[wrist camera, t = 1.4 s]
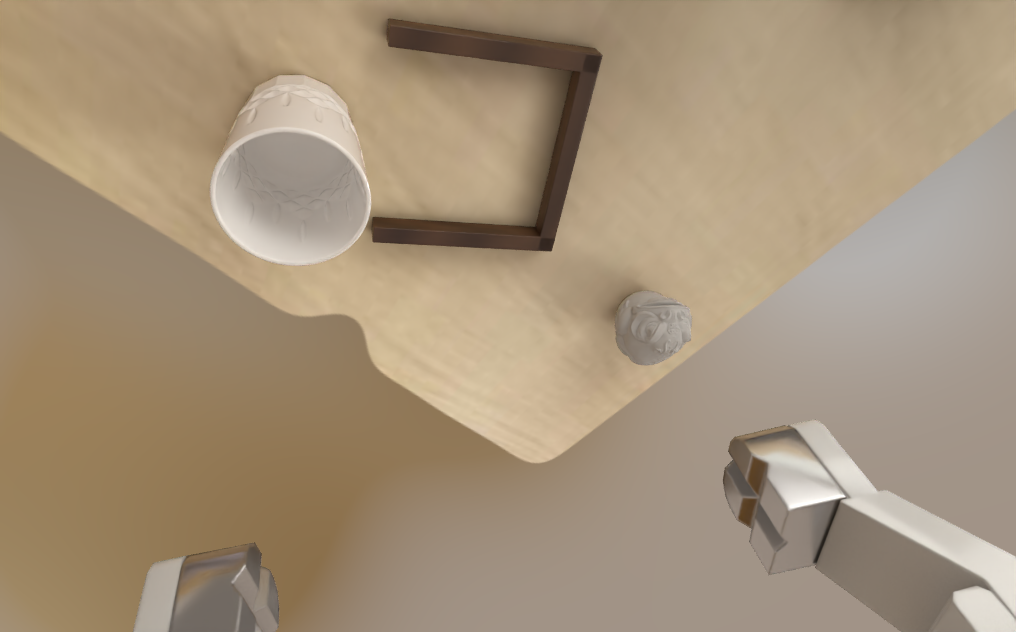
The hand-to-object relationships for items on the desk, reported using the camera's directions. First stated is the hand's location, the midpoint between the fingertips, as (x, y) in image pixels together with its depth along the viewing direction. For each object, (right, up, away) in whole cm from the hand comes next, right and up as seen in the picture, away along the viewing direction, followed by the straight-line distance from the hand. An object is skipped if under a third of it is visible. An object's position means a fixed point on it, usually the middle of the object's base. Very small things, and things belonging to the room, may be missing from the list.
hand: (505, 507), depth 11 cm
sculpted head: (+11, +5, +46) cm, 47 cm away
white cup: (-13, +15, +31) cm, 37 cm away
